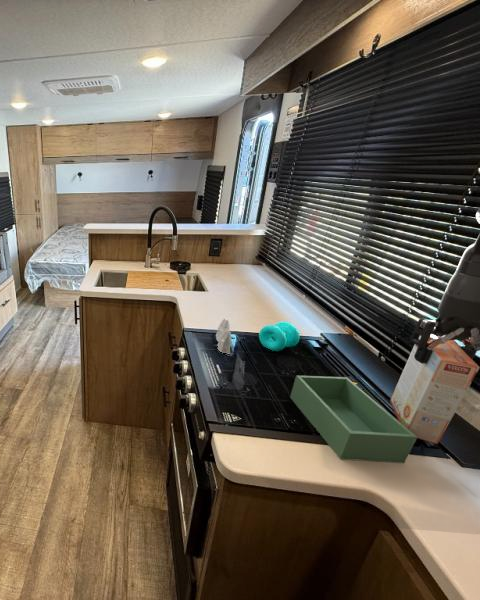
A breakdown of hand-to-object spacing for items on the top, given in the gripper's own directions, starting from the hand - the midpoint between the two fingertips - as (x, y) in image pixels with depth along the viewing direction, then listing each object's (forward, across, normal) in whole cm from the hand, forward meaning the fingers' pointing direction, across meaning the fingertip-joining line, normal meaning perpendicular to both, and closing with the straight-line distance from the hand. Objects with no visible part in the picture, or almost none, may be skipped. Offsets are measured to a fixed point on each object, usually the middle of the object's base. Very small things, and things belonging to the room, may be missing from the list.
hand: (440, 362), depth 69 cm
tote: (+21, -14, +2) cm, 26 cm away
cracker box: (+17, 0, 0) cm, 17 cm away
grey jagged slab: (+21, -50, +81) cm, 97 cm away
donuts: (+21, -12, +42) cm, 49 cm away
